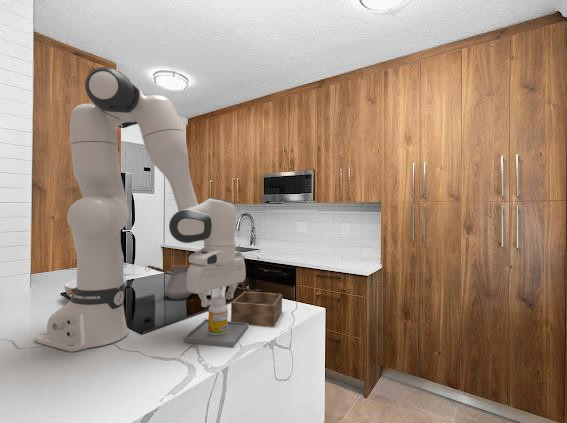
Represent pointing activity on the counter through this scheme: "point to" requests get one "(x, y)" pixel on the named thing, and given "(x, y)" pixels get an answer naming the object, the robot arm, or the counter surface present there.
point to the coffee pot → (176, 282)
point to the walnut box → (257, 308)
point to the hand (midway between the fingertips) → (217, 302)
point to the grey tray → (225, 340)
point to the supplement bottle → (218, 316)
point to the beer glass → (218, 293)
